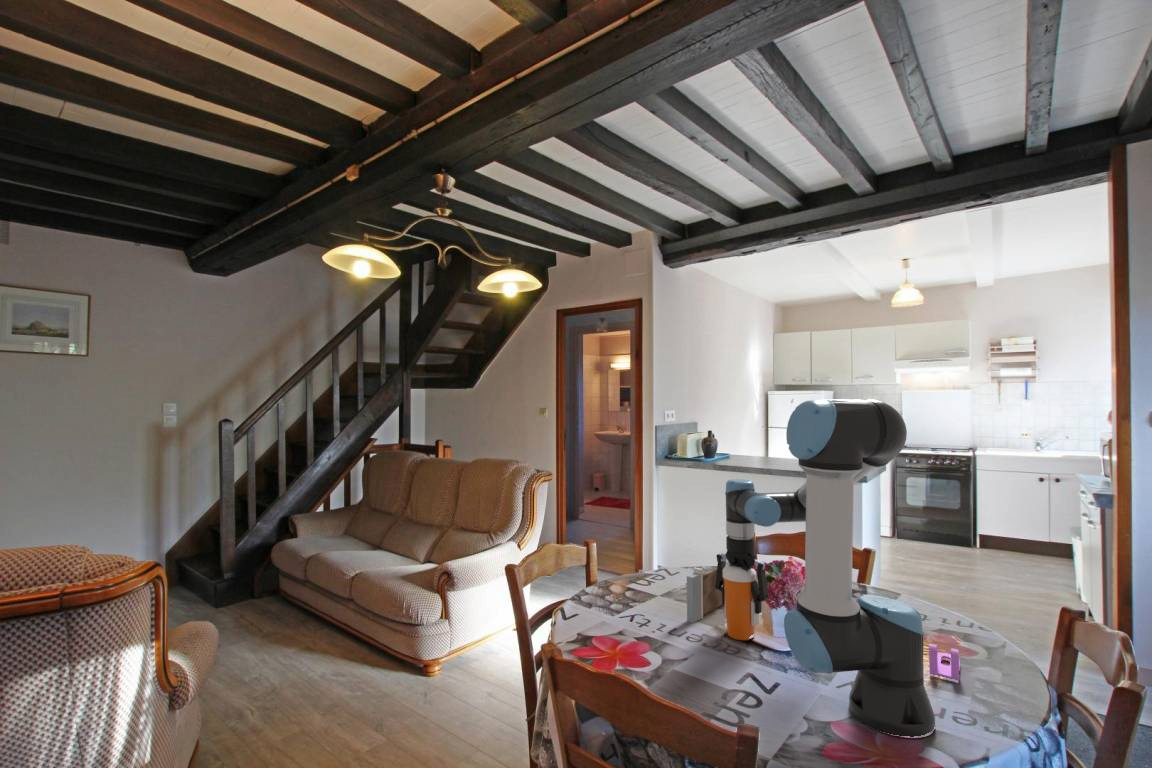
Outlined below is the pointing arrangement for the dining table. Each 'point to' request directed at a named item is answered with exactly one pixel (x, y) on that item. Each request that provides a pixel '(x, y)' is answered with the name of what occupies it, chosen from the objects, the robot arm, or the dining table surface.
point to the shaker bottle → (738, 600)
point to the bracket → (939, 668)
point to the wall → (695, 595)
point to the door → (710, 591)
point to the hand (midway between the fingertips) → (741, 620)
